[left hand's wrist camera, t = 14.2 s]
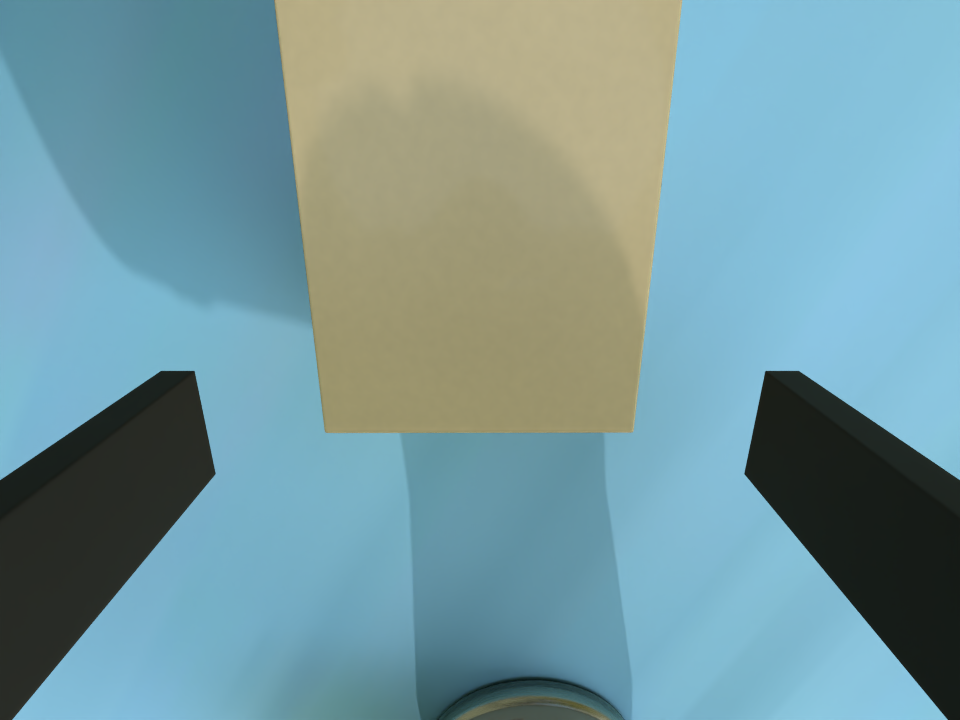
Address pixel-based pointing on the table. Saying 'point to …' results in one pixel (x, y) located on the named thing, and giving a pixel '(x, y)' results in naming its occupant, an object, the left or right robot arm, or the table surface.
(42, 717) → the table surface
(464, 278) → the tan cardboard carton
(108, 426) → the left robot arm
